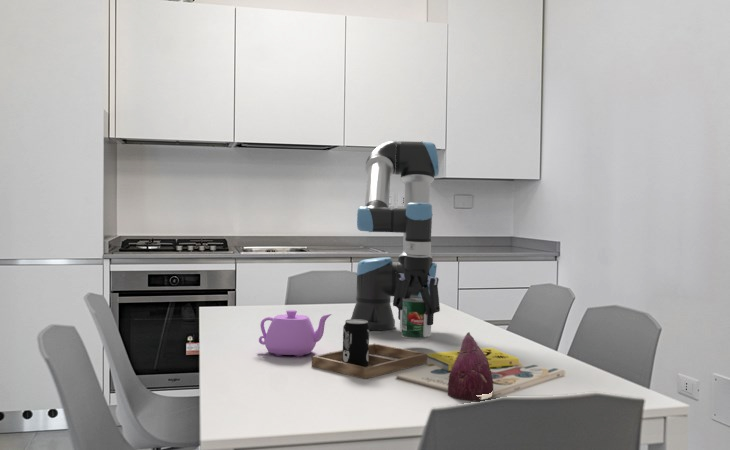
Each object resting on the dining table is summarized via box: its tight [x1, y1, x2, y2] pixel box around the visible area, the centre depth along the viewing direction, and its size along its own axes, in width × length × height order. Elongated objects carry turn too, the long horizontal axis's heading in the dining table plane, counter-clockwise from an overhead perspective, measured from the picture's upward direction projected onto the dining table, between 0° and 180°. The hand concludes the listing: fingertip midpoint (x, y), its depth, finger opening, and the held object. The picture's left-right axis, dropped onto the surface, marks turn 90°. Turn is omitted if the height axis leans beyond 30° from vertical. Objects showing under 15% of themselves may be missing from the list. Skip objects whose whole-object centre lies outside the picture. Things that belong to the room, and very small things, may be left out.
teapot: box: [258, 309, 333, 357], centre depth 196 cm, size 20×13×12 cm, turn 87°
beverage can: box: [341, 318, 370, 367], centre depth 180 cm, size 7×7×12 cm
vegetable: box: [447, 331, 494, 402], centre depth 159 cm, size 10×10×15 cm
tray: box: [311, 343, 428, 380], centre depth 185 cm, size 18×25×2 cm
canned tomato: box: [401, 297, 430, 340], centre depth 208 cm, size 8×8×11 cm
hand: (415, 333), depth 208 cm, fingers closed on canned tomato, 8 cm apart
